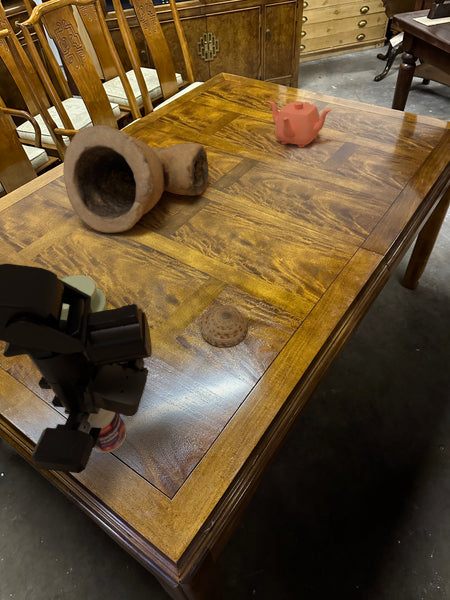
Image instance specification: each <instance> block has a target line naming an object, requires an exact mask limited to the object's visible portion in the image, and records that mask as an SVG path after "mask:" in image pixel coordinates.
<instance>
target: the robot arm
mask: <svg viewBox="0 0 450 600" xmlns="http://www.w3.org/2000/svg"><path fill="white" fill-rule="evenodd" d="M63 303H64V304H68V305H69V310H68V316H67V320H63V319H61V314H62V308H63ZM0 341H2V342H5V346H4V349H3V354H2V355H3V357H4V358H13V357H18V356H23V355H27V356H28V357H29V359H30V360H31V363H33V365H34V366H35V368H36V369H37V371H38V372H39V374H40V375H41V377H40V379H39V381H38V383H37V384H38V386H39V387H40V389H41V390H42V389H43V390H51V391H52V392H53V394H54V396H53V397H52V400H51V404H52V406H53V407H54V408H64V410H63V412H64V414H65V415H68V416H67V418H66V420H65V423H64V424H62V423H57V424H56V427H46V428H44V429H43V430H42V432H41V434H40V436H39V438H38V440H37V442H36V445H34V449H33V451H32V453H31V455H30V459H31V461H32V464H33V465H34V466H35V467H36V468H37V469H38V470H45V471H52V472H53V471H54V472H61V473H71V474H81V473H82V472H83V471H85V470H86V469H87V466H88V463H89V461H90V458H91V456H92V452H93V450H94V448H100V447H101V443H100V440H99V438H98V437H99V434H100V432H101V429H102V428H96V427H91V424H90V423H89V422H88V421H89V418H90V416H91V414H98V413H99V410H100V408H102V409H104V410H107V411H111V412H115V413H119V414H120V415H123V416H124V417H128V418H131V417H134V416H136V415H137V414H138V412H139V409H140V405H141V402H142V399H143V397H144V396H143V395H144V393H145V389H146V385H147V380H148V376H149V372H150V370H149V369H148V367H145V362H146V361H145V360H144V359H148V358H151V357H152V355H153V354H152V353H153V352H152V351H153V348H152V337H151V331H150V326H149V321H148V317H147V314H146V311H144V310H143V309H142V307H141V308H139V307H138V304H136V303H132V304H127V305H123V306H119V307H117V308H110V309H106V310H104V311H98V312H93V311H92V309H91V296H89V295H88V294H86V293H84V292H82V291H80V290H78V289H77V288H75V287H73V286H71V285H69V284H67V283H66V282H64V281H62V280H61V278H58V275H57V273H55V272H53V271H52V270H49V269H47V268H43V267H38V266H32V265H23V264H16V263H15V264H14V263H8V262H7V263H1V264H0Z"/></svg>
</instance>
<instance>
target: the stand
mask: <svg viewBox="0 0 450 600" xmlns="http://www.w3.org/2000/svg"><path fill="white" fill-rule="evenodd" d="M60 280H62V281H64V282H66V283H67V284H69V285H71V286H73V287H75V288H77V289H78V290H80V291H82V292H84V293H86V294H88V295H89V296H91V309H92V311H93V312H98V311H104V310H108V309H107V308H108V299H107V297H106V294H105V293H104V291H102V290H101V289H100V288H98V287H97V285H96V283H95V281H94V279H93V278H92V277H90V276H88V275H83V274H73V275H68V276H66V277H65V276H64V277H63V278H60ZM68 310H69V305H68V304H64V303H63V308H62V314H61V319H63V320H67V316H68Z"/></svg>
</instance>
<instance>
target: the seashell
mask: <svg viewBox="0 0 450 600" xmlns="http://www.w3.org/2000/svg"><path fill="white" fill-rule="evenodd" d="M199 330H200V334H201V336H202V337H203V338H204V339H205V341H206V342H208V343H209V344H211V345H213V346H215V347H218V348H229V347H233V346H236V345H238V344H239V343H241V342H242V341H243V340H244V339H245V337H246V335H247V332H248V322H247V319H246V318H245V316H244V315H243V313H242V312H241V311H240V310H239V308H237V307H235V306H233V305H230V304H225V305H219V306H213V307H211V308H210V309H208V310H206V312H205V313H204V314H203V316H202V317H201V320H200V323H199Z"/></svg>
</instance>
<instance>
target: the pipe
mask: <svg viewBox="0 0 450 600" xmlns="http://www.w3.org/2000/svg"><path fill="white" fill-rule="evenodd" d="M62 174H63V178H64V186H65V191H66V195H67V198H68V201H69V203H70V205H71V207H72V208H73V210H74V212H75V214H76V216H77V217H79V219H81V220H82V222H84V223H85V224H86V225H87V226H88V227H90V228H91V229H93V230H95V231H98V232H101V233H107V234H109V233H111V234H112V233H122V232H127V231H129V230H131V229H132V228H133V227H134V226H135V225H136V223H137V222H139V221H140V219H141V218H142V216H144V215H145V214H147V213H149V211H151V210H152V209H153V208H155V206H156V204H157V203H158V202H159V201H160V199H161V198H162V195H163V193H164V192H165V191H166V192H169V193H173V194H176V195H182V196H190V197H193V196H199V195H201V194H203V192H204V191H205V189H206V187H207V183H208V178H209V160H208V153H207V150H206V148H205V147H204V145H202V144H200V143H195V142H194V143H193V142H187V143H186V142H184V143H175V144H171V145H169V146H166V147H163V146H160V147H151V146H150V145H148V144H147V143H146V142H144V141H142V140H141V139H138V138H136V137H133V136H131V135H129V134H128V133H127V132H125V131H122V130H120V129H117V128H115V127H113V126H110V125H105V124H103V125H102V124H98V125H93V126H92V125H91V126H90V125H89V126H86V127H84V128H82V129H80V130H78V131H77V132H76V133H75V134H74V136H73V137H72V139H71V140H70V143H69V144H68V145H67V147H66V149H65V154H64V159H63V173H62Z"/></svg>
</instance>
